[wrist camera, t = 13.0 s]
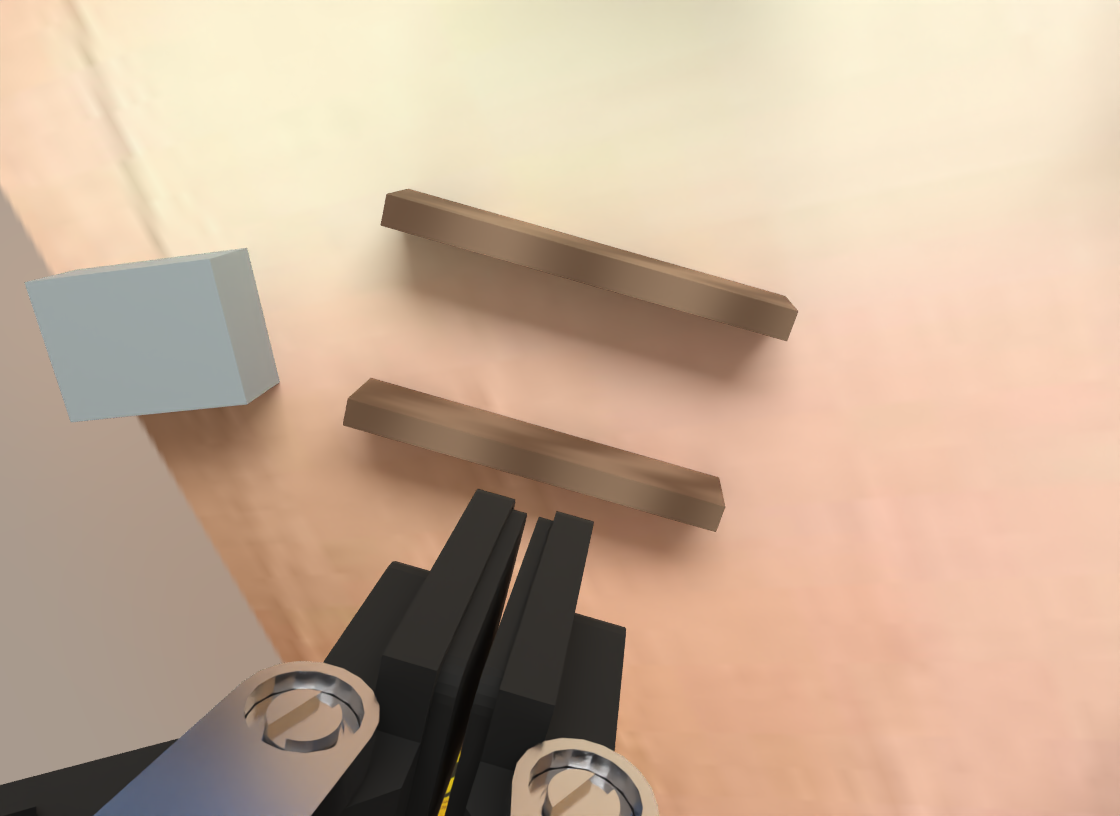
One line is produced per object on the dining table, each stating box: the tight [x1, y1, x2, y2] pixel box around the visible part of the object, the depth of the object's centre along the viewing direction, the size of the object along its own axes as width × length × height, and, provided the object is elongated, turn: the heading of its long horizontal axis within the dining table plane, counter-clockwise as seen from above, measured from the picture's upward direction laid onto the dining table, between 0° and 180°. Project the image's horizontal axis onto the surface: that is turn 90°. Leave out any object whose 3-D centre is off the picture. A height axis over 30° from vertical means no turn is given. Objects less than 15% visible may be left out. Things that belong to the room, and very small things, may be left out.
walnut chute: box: [343, 189, 798, 532], centre depth 34 cm, size 16×10×3 cm, turn 75°
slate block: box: [25, 248, 280, 422], centre depth 35 cm, size 8×6×4 cm
